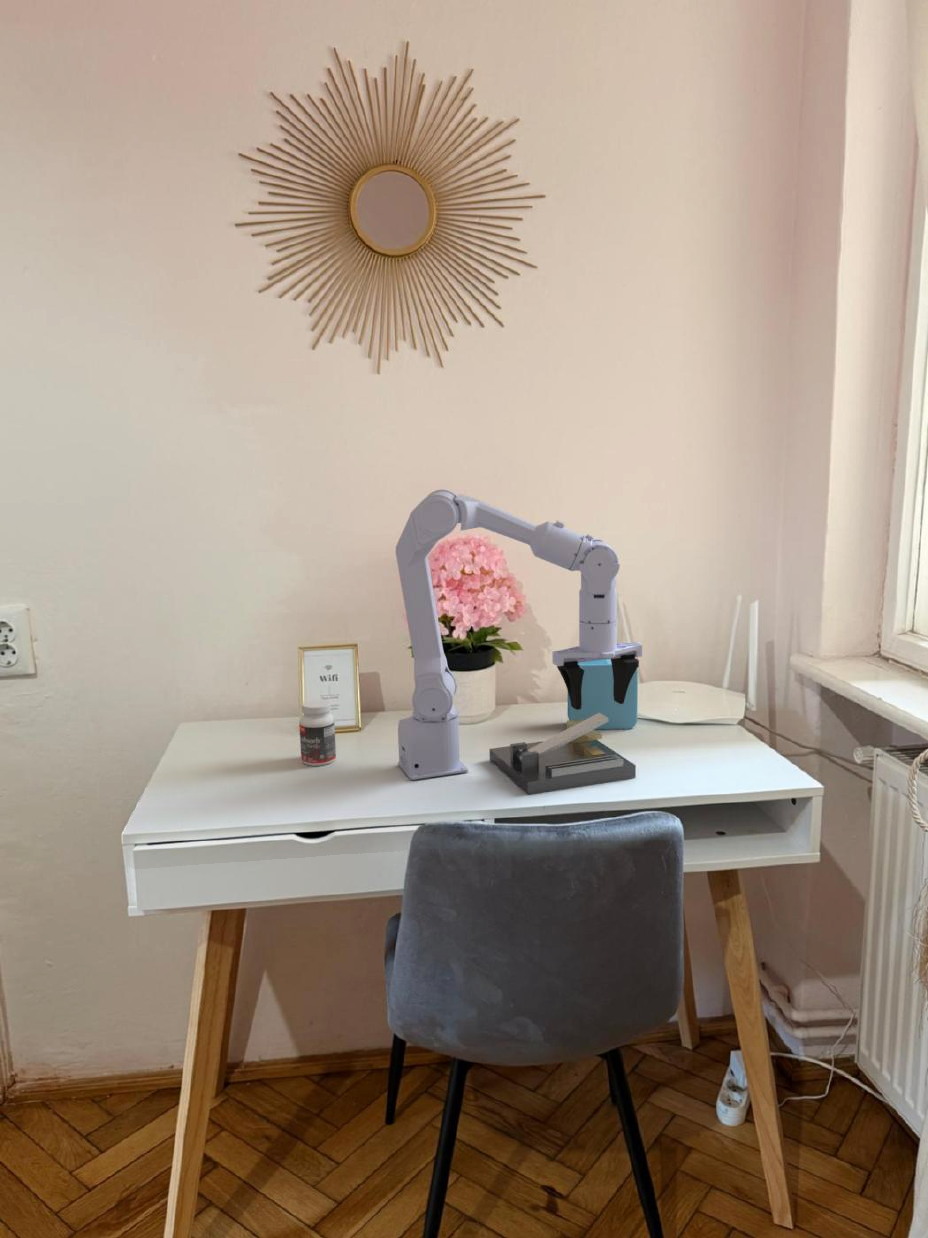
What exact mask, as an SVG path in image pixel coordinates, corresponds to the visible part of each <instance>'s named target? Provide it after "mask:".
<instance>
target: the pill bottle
mask: <svg viewBox="0 0 928 1238" xmlns="http://www.w3.org/2000/svg"><path fill="white" fill-rule="evenodd" d="M331 710H332V706H331V702H330V701H329V700H326V699H310V700H307V701H306V700H305V701H304V702H302V703H301V713H303V715H302V716H301V717H300V718H299V740H300V758H301V762H302V763H303V764H305V765H307V766H310V767H320V766H326V765H330V764H333V763H334V762H335V761H336V758H337V753H336V752H337V751H336V747H337V746H336V729H335V717H334V716H333V715H332V714H331V713H330V712H331Z"/></svg>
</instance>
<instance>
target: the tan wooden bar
mask: <svg viewBox="0 0 928 1238" xmlns="http://www.w3.org/2000/svg"><path fill="white" fill-rule="evenodd" d="M608 721H609V719H608V718H607V717H606V716H604V715H602V714H601V713H597V714H596V715H594V716H592V717H590V718H588V719H586V720H584V721H582V722H580V723H578V724H576V725H574V726H573V727H571V728H569V729H567V728H566V729H565V730H562V731H561V732H559V733H557V734H556V735H554V736H552V737H550V738H547V739H546V740H544V742H542V741H541V742H542V743H540V744H538V745H536V746H534V747H532V748H530V749H528V750H526V751H525V752H523V751H520V752H518V753H517V759H519V760H520V761H521V762H522V753H527V752H534V751H537V752H538V753H539V758H540V757H542V756H544V755H546V754H548V753H549V752H551V751H553V750H555V749H557V748H559V747H561V746H563V745H565V744H567V743H568V742H570V741H572V740H574V739H576V738H578V737H580V736H582V735H584V734H586V733H588V732H589V731H591V730H593V729H595V728H597V727H599V726H601V725H603V724H605V723H607V722H608Z"/></svg>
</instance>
